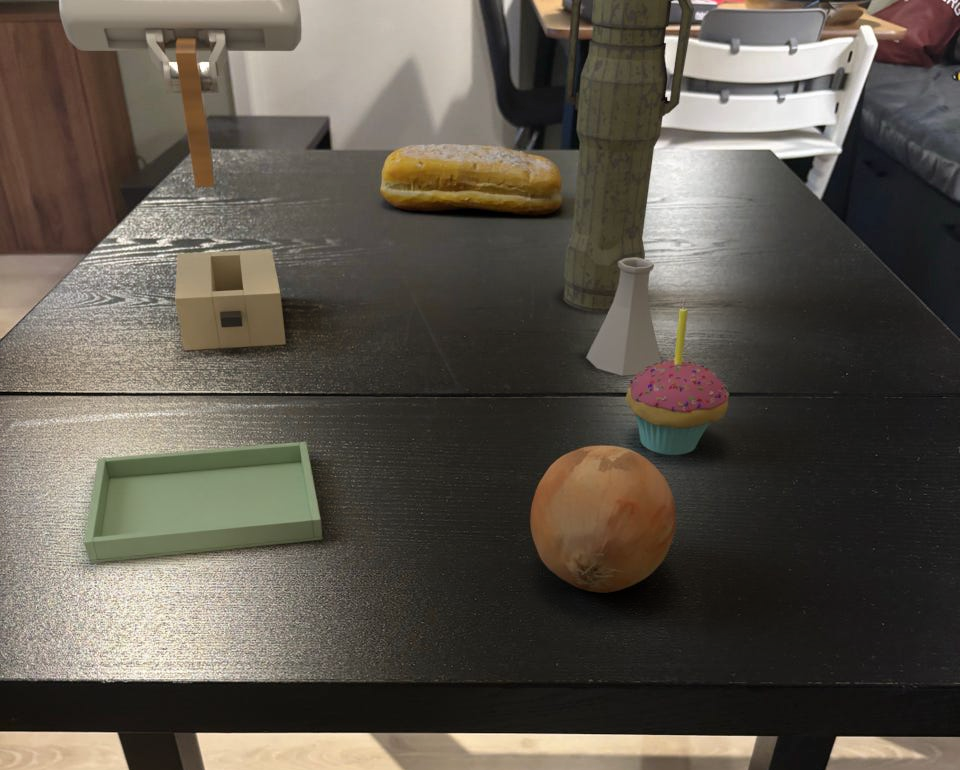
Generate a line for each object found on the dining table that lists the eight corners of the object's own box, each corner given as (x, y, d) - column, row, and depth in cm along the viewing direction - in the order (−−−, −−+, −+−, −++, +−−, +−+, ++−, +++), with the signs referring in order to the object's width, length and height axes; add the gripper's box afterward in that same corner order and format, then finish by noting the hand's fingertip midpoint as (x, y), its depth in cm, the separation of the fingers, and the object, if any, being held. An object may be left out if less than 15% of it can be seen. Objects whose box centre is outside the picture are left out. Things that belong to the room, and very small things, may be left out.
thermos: (650, 319, 105) (706, -71, 83) (546, 310, 107) (573, -76, 84) (652, 293, 112) (705, -75, 90) (554, 285, 113) (582, -79, 91)
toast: (195, 162, 88) (176, 36, 82) (212, 162, 88) (195, 37, 82) (195, 187, 81) (175, 52, 75) (214, 186, 81) (195, 52, 75)
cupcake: (608, 425, 85) (625, 291, 77) (697, 419, 86) (722, 287, 78) (638, 471, 78) (659, 330, 70) (734, 465, 79) (765, 325, 72)
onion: (658, 543, 70) (679, 419, 63) (670, 625, 62) (696, 494, 56) (528, 535, 70) (536, 411, 64) (524, 617, 62) (533, 485, 56)
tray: (90, 566, 66) (83, 542, 64) (103, 480, 75) (97, 458, 73) (323, 542, 69) (320, 519, 67) (308, 463, 78) (306, 441, 76)
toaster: (186, 309, 104) (177, 253, 100) (278, 304, 106) (272, 249, 102) (185, 365, 92) (174, 304, 89) (287, 358, 94) (281, 298, 90)
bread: (384, 193, 144) (382, 135, 139) (556, 197, 144) (560, 140, 139) (378, 218, 133) (376, 157, 128) (563, 222, 134) (568, 161, 129)
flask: (621, 383, 92) (634, 279, 85) (573, 358, 96) (582, 258, 90) (674, 367, 95) (690, 266, 89) (625, 344, 99) (637, 246, 93)
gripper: (39, -94, 78) (56, 62, 76) (289, -86, 82) (309, 62, 80) (59, -32, 84) (75, 113, 83) (290, -28, 88) (309, 111, 87)
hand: (192, 88), depth 82 cm, fingers closed on toast, 1 cm apart
